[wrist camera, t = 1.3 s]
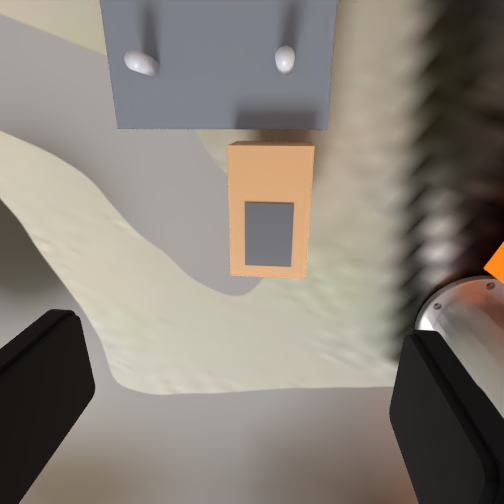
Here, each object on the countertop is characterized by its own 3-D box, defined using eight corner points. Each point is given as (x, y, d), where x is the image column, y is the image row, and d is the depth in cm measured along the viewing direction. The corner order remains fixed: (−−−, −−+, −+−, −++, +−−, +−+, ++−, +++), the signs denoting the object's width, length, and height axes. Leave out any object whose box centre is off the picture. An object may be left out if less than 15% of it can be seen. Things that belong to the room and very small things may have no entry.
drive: (302, 255, 31) (305, 279, 26) (238, 252, 31) (230, 275, 26) (309, 141, 27) (314, 146, 22) (237, 141, 28) (227, 145, 23)
